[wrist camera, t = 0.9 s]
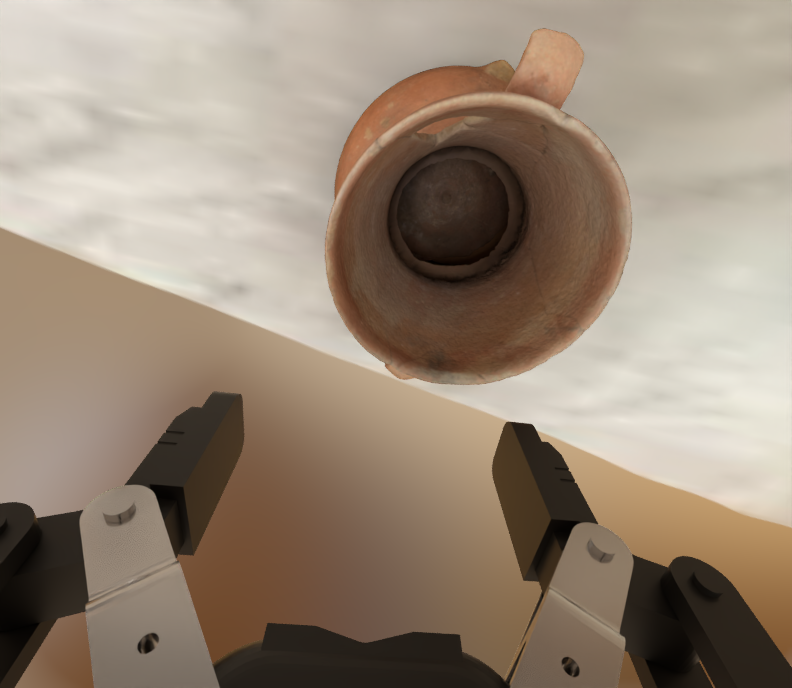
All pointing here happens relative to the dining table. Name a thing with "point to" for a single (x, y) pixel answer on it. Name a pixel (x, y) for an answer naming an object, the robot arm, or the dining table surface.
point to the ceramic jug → (476, 220)
